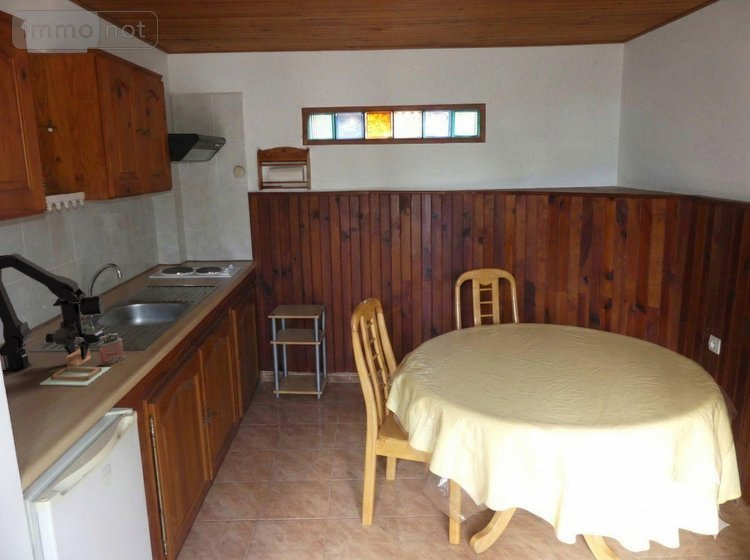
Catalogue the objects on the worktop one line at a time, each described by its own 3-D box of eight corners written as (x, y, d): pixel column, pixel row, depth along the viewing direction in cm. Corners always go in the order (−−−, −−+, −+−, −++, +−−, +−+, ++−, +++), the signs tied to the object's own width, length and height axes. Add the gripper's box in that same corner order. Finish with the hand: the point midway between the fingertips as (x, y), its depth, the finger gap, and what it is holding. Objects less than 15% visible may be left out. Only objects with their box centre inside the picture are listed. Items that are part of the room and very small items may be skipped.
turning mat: (39, 384, 184) (39, 380, 184) (67, 367, 198) (66, 363, 197) (86, 385, 182) (85, 381, 182) (111, 368, 196) (110, 364, 195)
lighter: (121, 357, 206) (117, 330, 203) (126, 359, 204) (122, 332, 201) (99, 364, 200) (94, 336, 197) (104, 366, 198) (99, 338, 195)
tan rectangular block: (67, 366, 199) (65, 357, 198) (81, 357, 206) (80, 348, 206) (76, 366, 198) (75, 357, 197) (90, 358, 206) (89, 348, 205)
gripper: (30, 324, 192) (38, 368, 196) (82, 324, 189) (90, 368, 193) (52, 313, 202) (59, 355, 206) (102, 314, 200) (108, 356, 204)
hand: (78, 359), depth 202 cm, fingers closed on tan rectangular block, 3 cm apart
